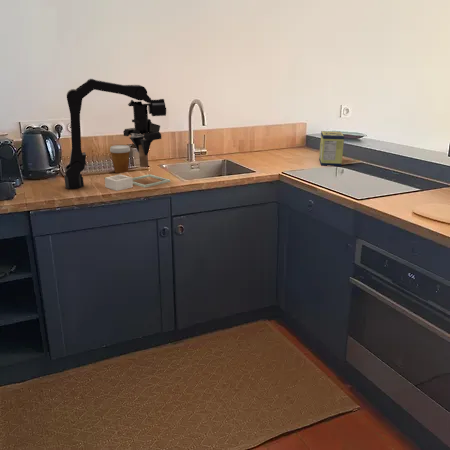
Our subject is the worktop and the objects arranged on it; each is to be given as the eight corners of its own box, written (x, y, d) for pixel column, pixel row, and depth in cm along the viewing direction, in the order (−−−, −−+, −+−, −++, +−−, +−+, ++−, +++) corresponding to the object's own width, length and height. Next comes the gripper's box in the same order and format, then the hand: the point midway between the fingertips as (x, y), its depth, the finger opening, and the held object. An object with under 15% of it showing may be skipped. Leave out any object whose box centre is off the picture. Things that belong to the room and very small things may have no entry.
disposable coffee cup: (127, 174, 220) (125, 149, 216) (107, 173, 222) (105, 148, 218) (134, 170, 229) (133, 145, 225) (116, 169, 231) (114, 144, 227)
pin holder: (116, 193, 191) (116, 181, 189) (105, 189, 196) (104, 177, 194) (133, 189, 197) (132, 177, 195) (121, 185, 202) (120, 174, 200)
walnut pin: (143, 167, 199) (141, 146, 196) (138, 166, 201) (136, 145, 198) (150, 166, 202) (148, 144, 198) (144, 164, 204) (143, 143, 201)
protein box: (338, 160, 256) (340, 131, 250) (341, 166, 241) (344, 136, 236) (318, 159, 257) (320, 130, 251) (320, 166, 242) (323, 135, 237)
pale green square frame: (144, 189, 196) (144, 185, 195) (124, 183, 205) (124, 179, 204) (170, 183, 206) (170, 179, 205) (150, 178, 215) (149, 174, 214)
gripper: (170, 116, 194) (172, 154, 199) (142, 113, 206) (145, 148, 211) (149, 119, 186) (151, 158, 192) (121, 115, 198) (124, 152, 204)
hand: (143, 154), depth 200 cm, fingers closed on walnut pin, 3 cm apart
